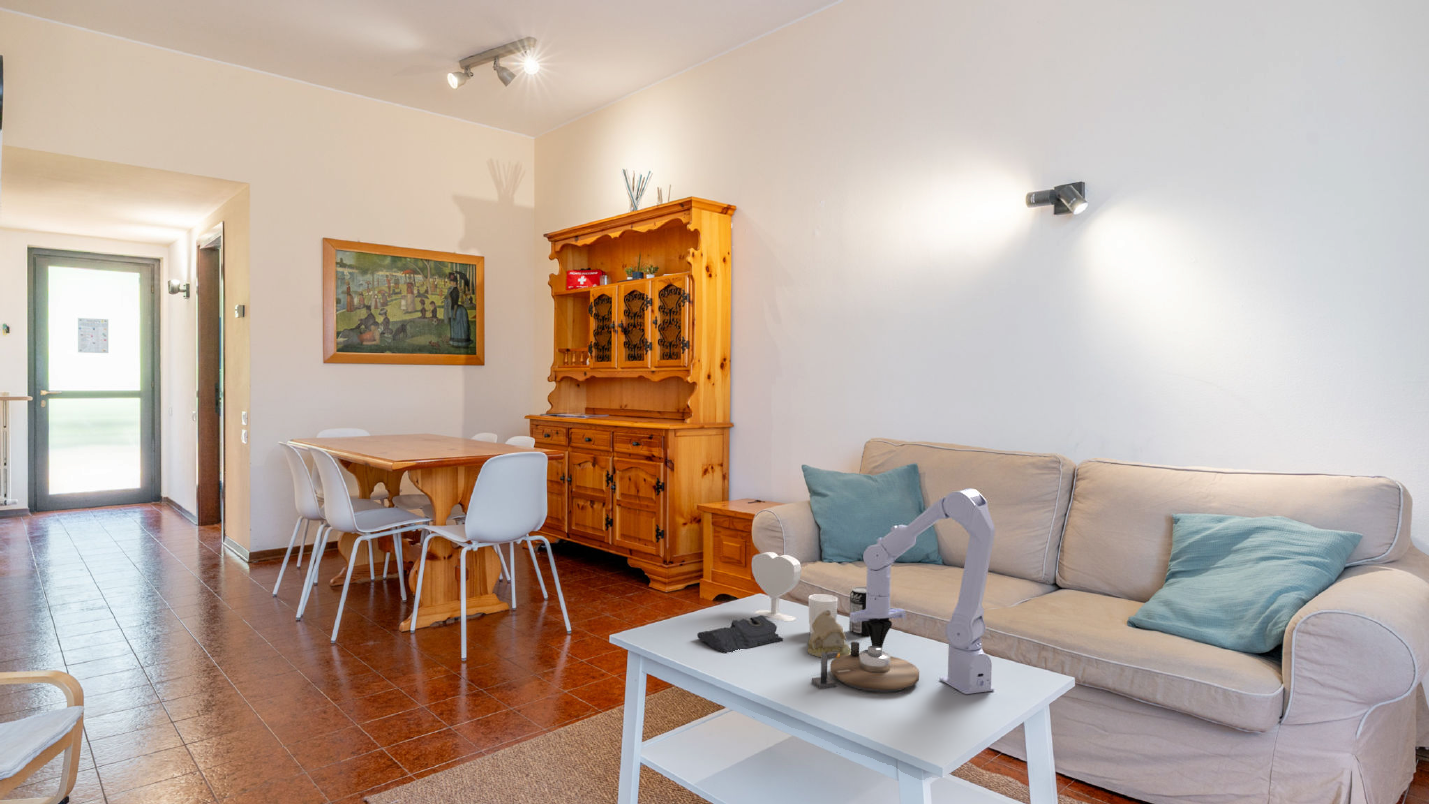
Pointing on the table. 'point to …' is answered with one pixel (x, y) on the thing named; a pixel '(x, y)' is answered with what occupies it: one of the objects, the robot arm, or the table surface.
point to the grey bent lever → (825, 672)
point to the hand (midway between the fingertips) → (876, 649)
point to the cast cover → (874, 660)
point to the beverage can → (858, 605)
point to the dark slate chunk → (742, 635)
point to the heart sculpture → (775, 579)
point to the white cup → (821, 607)
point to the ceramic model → (827, 636)
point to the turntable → (896, 678)
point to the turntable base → (874, 689)
